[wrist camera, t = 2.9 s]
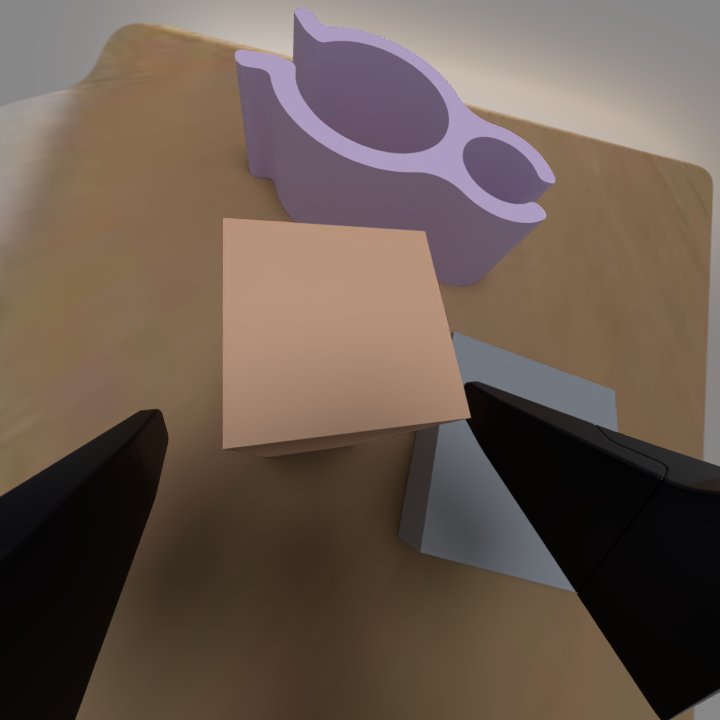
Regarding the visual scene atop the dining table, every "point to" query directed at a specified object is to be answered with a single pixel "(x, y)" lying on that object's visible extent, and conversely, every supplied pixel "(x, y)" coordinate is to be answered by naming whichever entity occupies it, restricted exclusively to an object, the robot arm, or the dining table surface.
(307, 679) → the dining table surface
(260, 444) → the tan block
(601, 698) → the dining table surface
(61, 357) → the dining table surface
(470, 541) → the plate
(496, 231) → the clip
